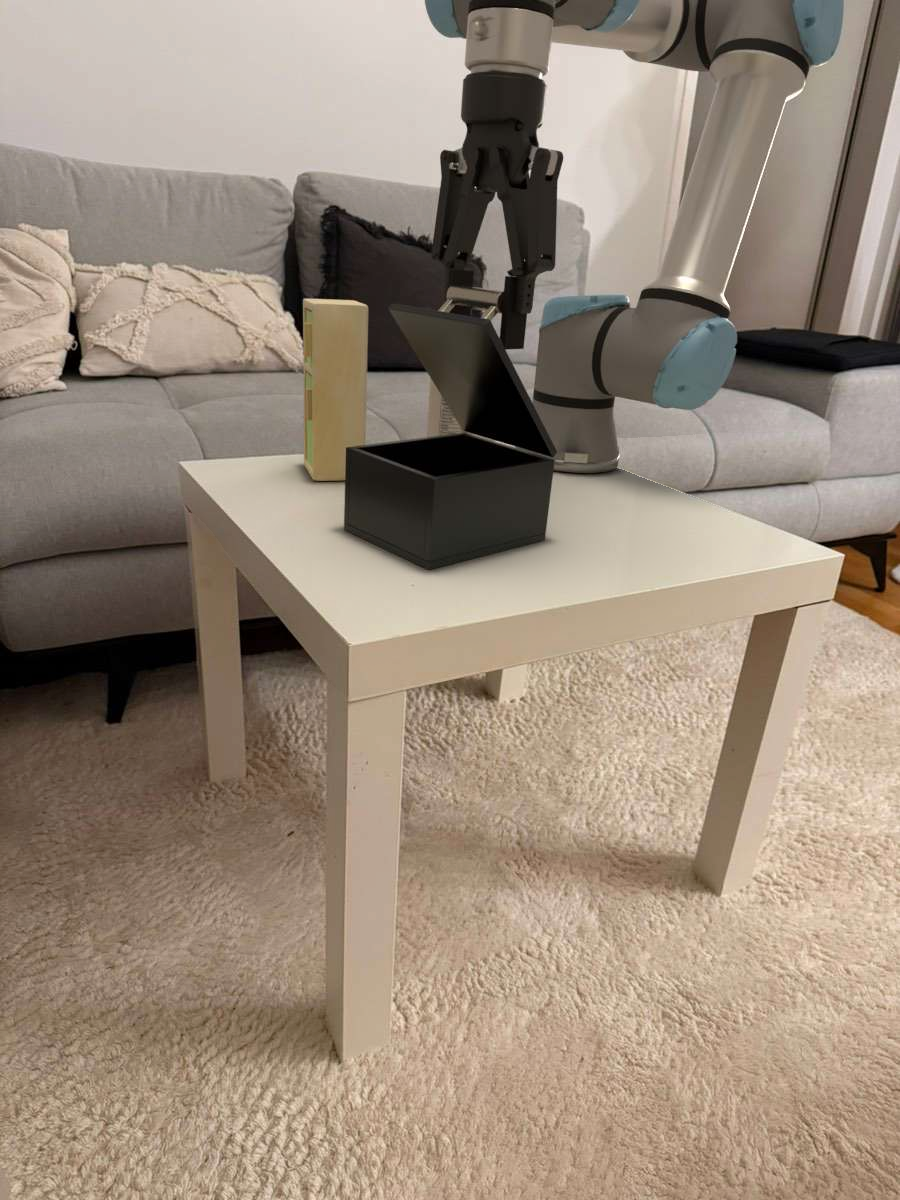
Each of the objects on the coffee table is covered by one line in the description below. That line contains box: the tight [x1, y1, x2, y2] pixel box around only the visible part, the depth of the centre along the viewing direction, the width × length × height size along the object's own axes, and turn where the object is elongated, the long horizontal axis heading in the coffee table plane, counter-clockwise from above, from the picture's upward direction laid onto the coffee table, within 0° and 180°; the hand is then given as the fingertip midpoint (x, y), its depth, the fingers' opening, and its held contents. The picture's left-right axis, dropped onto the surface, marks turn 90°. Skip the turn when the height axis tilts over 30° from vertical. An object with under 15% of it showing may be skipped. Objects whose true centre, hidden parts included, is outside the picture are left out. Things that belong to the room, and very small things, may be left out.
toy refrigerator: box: [302, 298, 369, 482], centre depth 105 cm, size 8×7×21 cm
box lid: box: [388, 285, 557, 457], centre depth 86 cm, size 18×14×6 cm
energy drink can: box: [426, 378, 474, 437], centre depth 111 cm, size 6×6×15 cm
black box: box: [343, 433, 555, 571], centre depth 88 cm, size 17×14×9 cm
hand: (483, 342), depth 84 cm, fingers closed on box lid, 7 cm apart
